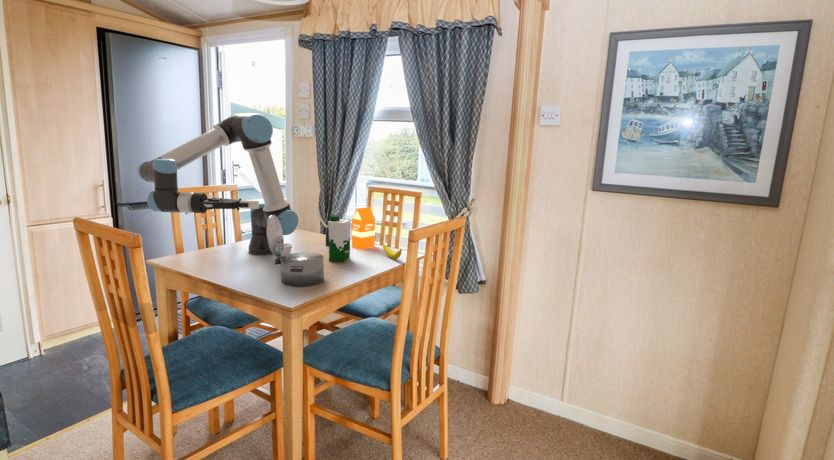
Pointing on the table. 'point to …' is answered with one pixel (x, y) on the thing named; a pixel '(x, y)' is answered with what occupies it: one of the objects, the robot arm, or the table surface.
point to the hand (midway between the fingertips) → (258, 204)
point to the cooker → (301, 269)
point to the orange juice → (363, 228)
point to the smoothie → (286, 250)
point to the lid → (275, 236)
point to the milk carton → (339, 239)
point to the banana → (391, 252)
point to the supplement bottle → (327, 236)
